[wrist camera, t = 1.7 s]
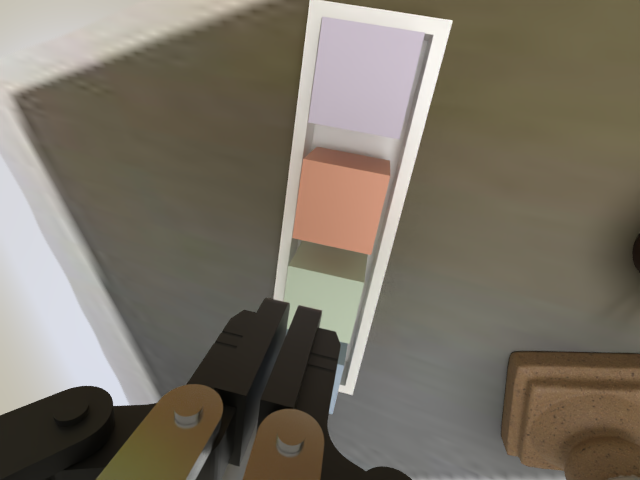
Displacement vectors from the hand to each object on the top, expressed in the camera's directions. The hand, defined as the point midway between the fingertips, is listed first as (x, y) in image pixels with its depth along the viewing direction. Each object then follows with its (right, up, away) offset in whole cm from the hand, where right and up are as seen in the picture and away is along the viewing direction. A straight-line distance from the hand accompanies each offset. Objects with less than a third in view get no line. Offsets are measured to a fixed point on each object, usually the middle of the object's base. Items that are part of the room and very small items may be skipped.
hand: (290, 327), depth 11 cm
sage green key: (+2, 0, +17) cm, 17 cm away
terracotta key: (+3, +6, +14) cm, 16 cm away
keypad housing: (+3, +4, +19) cm, 19 cm away
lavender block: (+4, +13, +12) cm, 17 cm away
